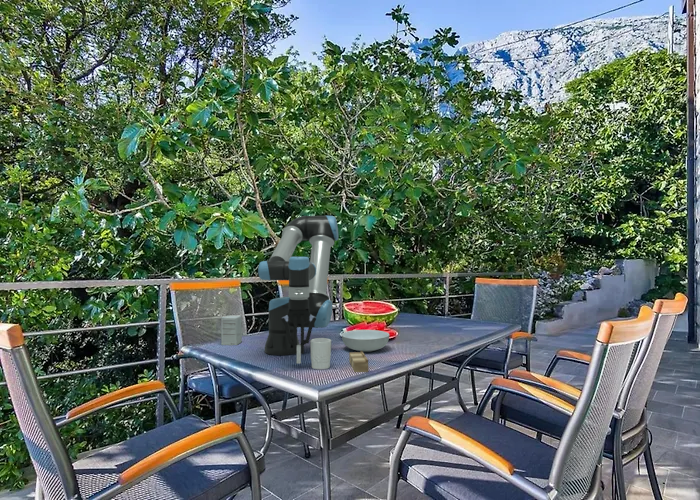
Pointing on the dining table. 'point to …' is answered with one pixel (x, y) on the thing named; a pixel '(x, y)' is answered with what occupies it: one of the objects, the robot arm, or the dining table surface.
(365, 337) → the serving bowl
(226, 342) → the supplement box
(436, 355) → the dining table surface
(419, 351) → the dining table surface
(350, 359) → the brass metal channel
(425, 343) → the dining table surface
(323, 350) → the white cup
